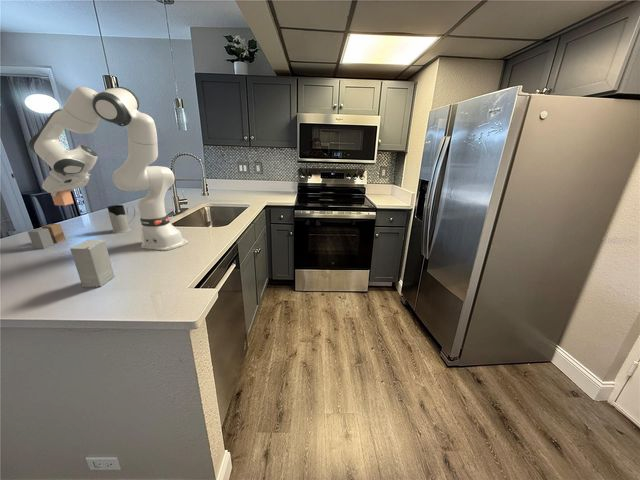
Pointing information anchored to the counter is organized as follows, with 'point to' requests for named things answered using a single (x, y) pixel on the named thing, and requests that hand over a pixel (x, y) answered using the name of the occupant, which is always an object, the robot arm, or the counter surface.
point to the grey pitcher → (119, 218)
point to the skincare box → (92, 263)
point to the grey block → (41, 238)
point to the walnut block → (55, 232)
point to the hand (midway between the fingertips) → (60, 194)
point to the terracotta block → (63, 198)
